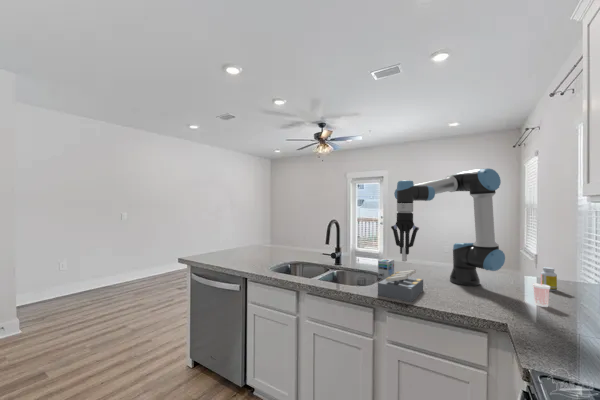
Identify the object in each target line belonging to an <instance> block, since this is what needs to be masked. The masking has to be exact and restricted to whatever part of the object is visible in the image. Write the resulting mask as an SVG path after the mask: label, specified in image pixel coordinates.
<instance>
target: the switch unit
mask: <svg viewBox="0 0 600 400" xmlns="http://www.w3.org/2000/svg"><path fill="white" fill-rule="evenodd" d="M389 277H390V276H389ZM387 278H388V277H387ZM423 291H424V279H423V278H419V277H413V276H408V278H407V279H403V280H396V281H388V282H386V279H382V280H380V281H378V283H377V295H378V296H381V297H384V298H386V297H387V298H391V299H395V300H400V301H405V302H410V303H411V302H412V301H414V300H415V299H416V298H417V297H418V296H419V295H420V294H421V293H422V292H423Z"/></svg>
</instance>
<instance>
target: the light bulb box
mask: <svg viewBox="0 0 600 400" xmlns="http://www.w3.org/2000/svg"><path fill="white" fill-rule="evenodd" d="M377 261H378V263H377V265H378V266H377V269H378V270H377V274H378V275H377V278H378V279H382V280H384V279H386V278H387V277H389V276H391V275H393V274H395V259H393V258H386V257H385V258H382V259H379V260H377Z"/></svg>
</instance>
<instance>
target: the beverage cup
mask: <svg viewBox="0 0 600 400" xmlns="http://www.w3.org/2000/svg"><path fill="white" fill-rule="evenodd" d="M532 287H533V295H534V297H533V298H534V305H536V306H537V307H543V308H548V307H549V300H550V291H549V289H550V286H548V285H544V284H542V274H541V273H540V283H537V282H536V283H532Z"/></svg>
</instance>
